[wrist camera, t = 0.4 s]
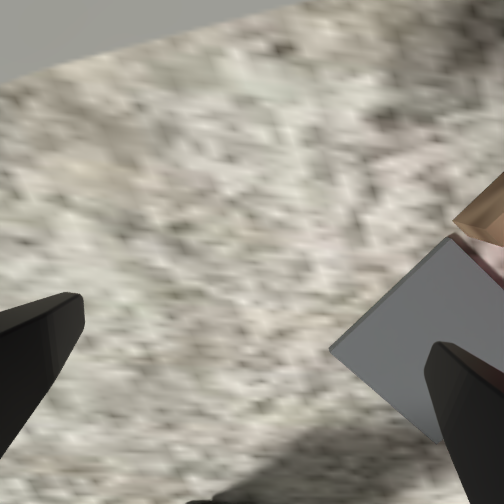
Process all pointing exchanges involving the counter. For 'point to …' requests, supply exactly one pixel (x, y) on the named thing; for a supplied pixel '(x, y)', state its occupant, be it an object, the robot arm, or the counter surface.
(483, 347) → the rubber mat
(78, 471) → the counter surface
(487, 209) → the walnut cradle
